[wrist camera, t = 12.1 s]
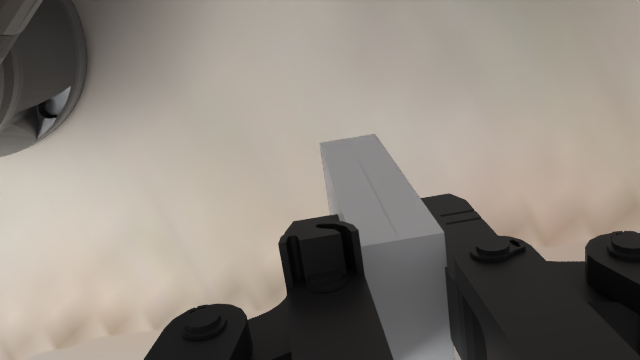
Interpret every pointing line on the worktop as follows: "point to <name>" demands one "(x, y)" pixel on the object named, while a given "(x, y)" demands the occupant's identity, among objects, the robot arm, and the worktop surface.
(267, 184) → the worktop surface
